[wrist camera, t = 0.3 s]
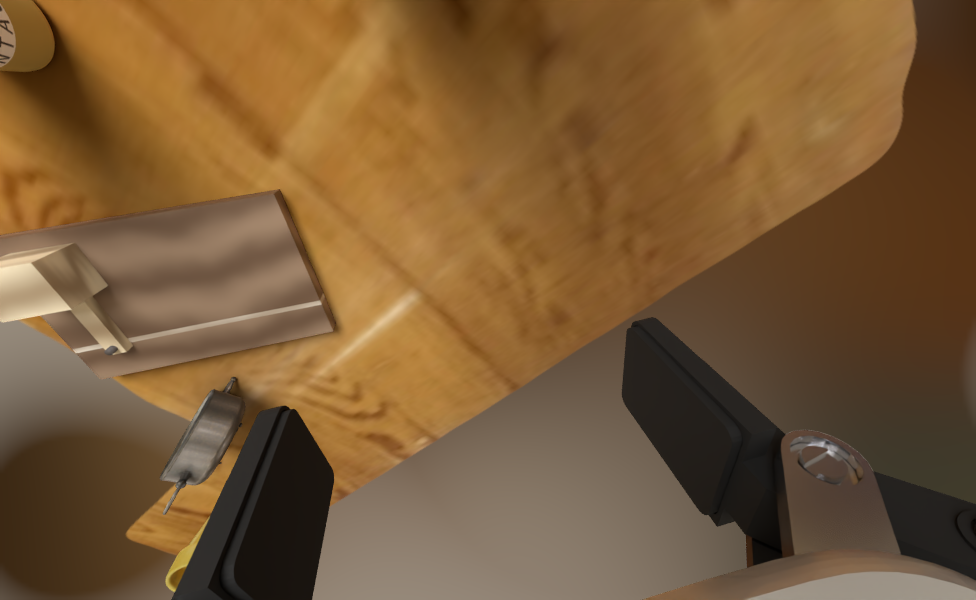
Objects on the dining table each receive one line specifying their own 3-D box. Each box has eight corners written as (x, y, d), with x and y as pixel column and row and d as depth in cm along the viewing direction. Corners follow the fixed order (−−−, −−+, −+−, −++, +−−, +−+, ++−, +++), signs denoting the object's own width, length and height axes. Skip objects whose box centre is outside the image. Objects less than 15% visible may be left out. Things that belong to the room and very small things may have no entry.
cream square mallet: (8, 253, 35) (-46, 275, 31) (74, 242, 36) (30, 262, 32) (97, 352, 42) (63, 382, 38) (152, 342, 43) (124, 369, 39)
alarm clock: (225, 366, 49) (154, 475, 35) (266, 381, 51) (215, 489, 37) (192, 417, 52) (115, 536, 38) (233, 429, 54) (174, 545, 40)
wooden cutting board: (-7, 236, 36) (-28, 243, 34) (279, 189, 39) (273, 193, 37) (112, 368, 46) (100, 379, 44) (335, 323, 48) (333, 331, 47)
